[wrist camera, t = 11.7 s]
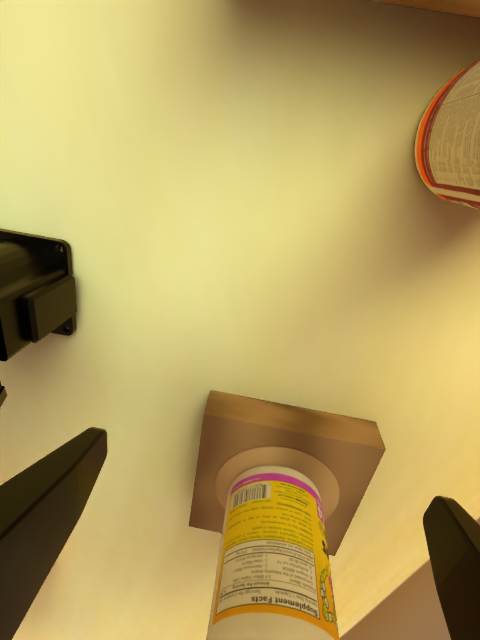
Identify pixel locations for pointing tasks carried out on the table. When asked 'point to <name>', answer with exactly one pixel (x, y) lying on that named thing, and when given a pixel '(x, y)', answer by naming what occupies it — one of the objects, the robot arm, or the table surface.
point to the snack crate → (442, 5)
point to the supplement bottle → (273, 561)
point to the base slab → (284, 456)
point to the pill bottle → (452, 140)
